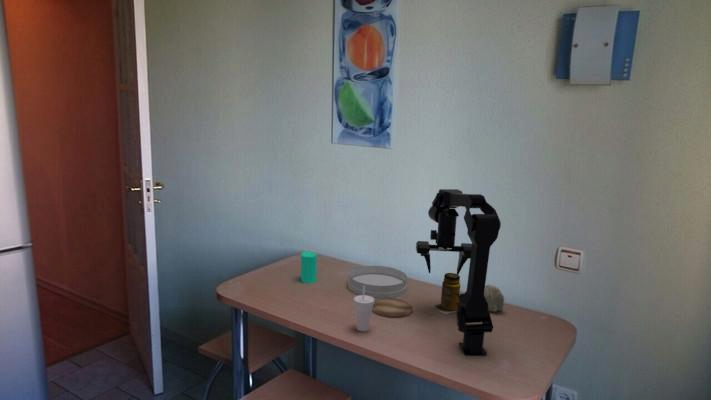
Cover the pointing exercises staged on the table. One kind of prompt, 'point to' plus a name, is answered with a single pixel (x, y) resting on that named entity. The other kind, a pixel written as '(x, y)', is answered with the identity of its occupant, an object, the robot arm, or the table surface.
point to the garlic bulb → (493, 298)
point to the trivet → (391, 308)
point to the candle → (308, 267)
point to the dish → (377, 281)
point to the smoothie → (363, 310)
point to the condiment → (449, 294)
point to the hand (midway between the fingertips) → (443, 273)
